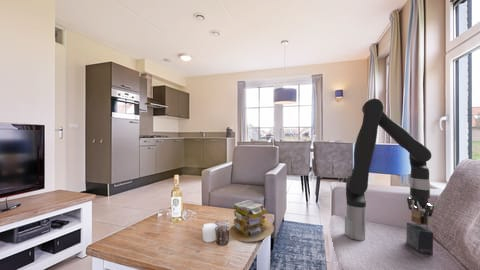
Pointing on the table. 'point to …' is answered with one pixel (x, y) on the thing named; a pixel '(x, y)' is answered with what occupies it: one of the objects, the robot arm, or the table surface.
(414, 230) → the small box
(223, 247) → the table surface
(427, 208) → the robot arm
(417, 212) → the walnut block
